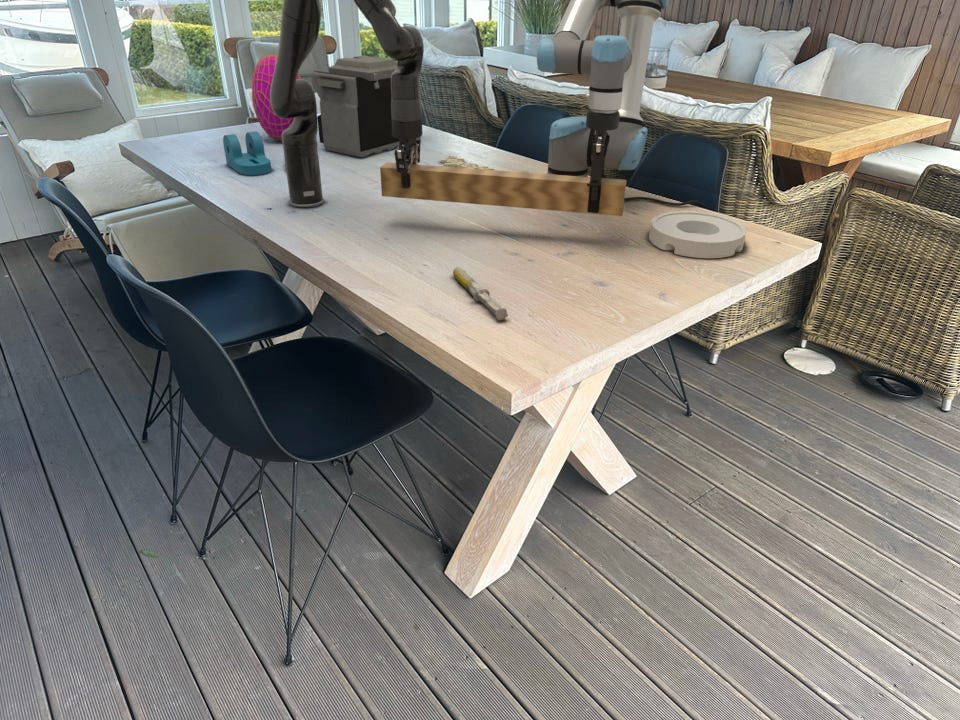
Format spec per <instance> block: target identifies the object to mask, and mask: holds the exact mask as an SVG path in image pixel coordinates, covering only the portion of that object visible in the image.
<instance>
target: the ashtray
mask: <svg viewBox="0 0 960 720" xmlns="http://www.w3.org/2000/svg"><path fill="white" fill-rule="evenodd" d="M746 236H747V230H746V227H745V226H744V225H743V224H741V223H740V222H738V221H737V220H734V219H732V218H730V217H726V216H724V215H719V214H714V213H709V212H702V211H691V210H690V211H689V210H685V211H683V210H681V211H679V210H677V211H670V212H664V213H660V214H657V215H656V216H653V218H652V219H651V221H650V226H649V235H648V237H649V238H648V239H649V241H650V242H651V244H652V245H654V246H655V247H657V248H658V249H660V250H663V251H673V252H674V255H677V256H682V257H688V258H689V257H690V258H697V259H721V258H726V257H727V258H729V257H732V256H734V255H735V254H736V253H740V252H742V251H743V248H744V245H745V239H746Z"/></svg>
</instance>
